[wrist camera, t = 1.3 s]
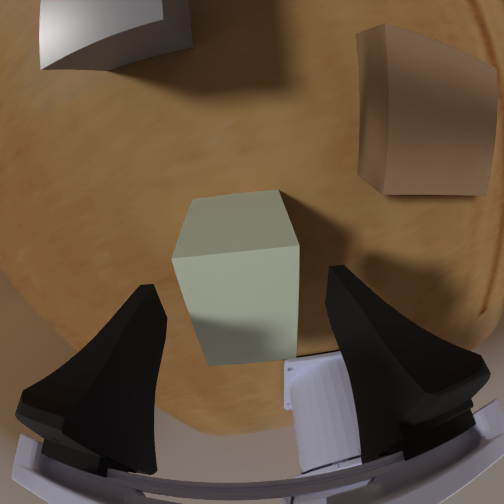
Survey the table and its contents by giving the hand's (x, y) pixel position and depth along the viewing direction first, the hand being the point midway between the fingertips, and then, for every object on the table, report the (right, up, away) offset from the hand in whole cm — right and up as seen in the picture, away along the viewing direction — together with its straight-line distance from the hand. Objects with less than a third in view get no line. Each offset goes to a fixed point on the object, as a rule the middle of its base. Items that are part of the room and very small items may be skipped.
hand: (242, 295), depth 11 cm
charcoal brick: (-4, +12, -4) cm, 14 cm away
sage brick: (0, +2, +3) cm, 4 cm away
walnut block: (+9, +9, -1) cm, 12 cm away
